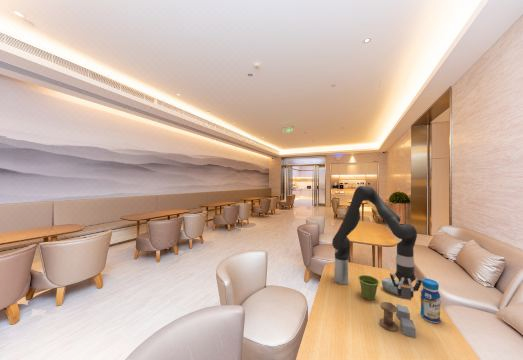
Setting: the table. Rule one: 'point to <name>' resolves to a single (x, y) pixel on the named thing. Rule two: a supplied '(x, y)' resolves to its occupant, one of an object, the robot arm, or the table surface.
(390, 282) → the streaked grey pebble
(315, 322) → the table surface
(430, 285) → the beverage bottle
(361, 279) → the plant pot
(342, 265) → the robot arm
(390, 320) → the bobbin
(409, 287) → the tan rectangular block
